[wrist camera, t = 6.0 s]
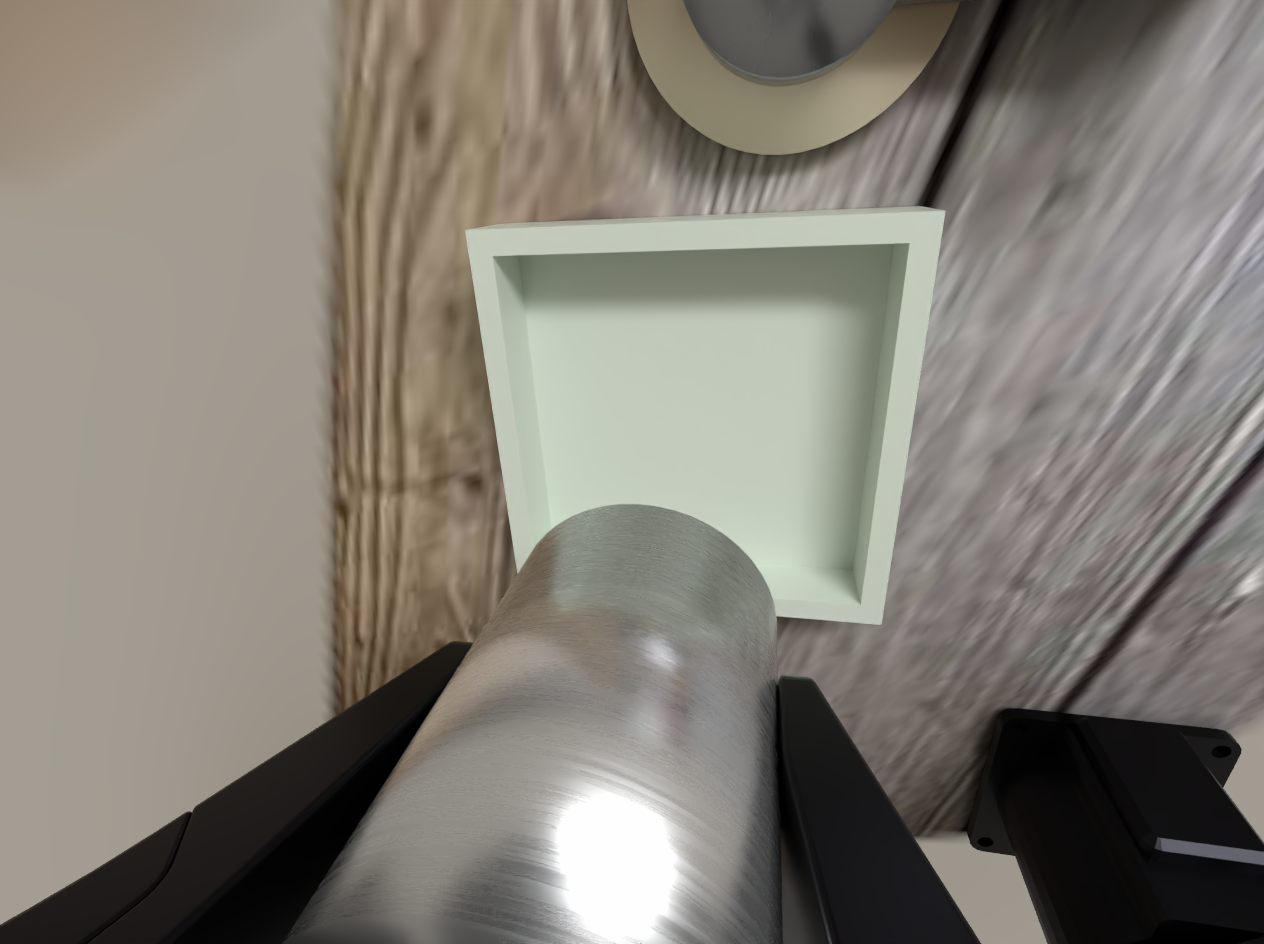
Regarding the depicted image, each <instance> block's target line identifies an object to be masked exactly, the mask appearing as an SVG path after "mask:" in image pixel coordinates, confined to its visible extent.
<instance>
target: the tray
mask: <svg viewBox="0 0 1264 944" xmlns="http://www.w3.org/2000/svg"><path fill="white" fill-rule="evenodd" d="M944 217H945V210H939V209H934V208H928V207H923V206H909V207H885V208H862V209H838V210H814V211H791V212H767V213H743V214H720V215H696V216H672V217H649V218H625V219H601V220H578V221H554V222H530V223H507V224H498V225H492V226H486V227H480V228H475V229H469V230H465V232H466V239H467V245H468V252H469V258H470V265H471V272H472V278H473V285H474V291H475V298H476V304H477V311H478V318H479V324H480V331H481V337H482V344H483V350H484V357H485V364H486V370H487V377H488V383H489V390H490V397H491V403H492V410H493V416H494V423H495V429H496V436H497V443H498V449H499V456H500V462H501V469H502V475H503V482H504V489H505V495H506V502H507V508H508V515H509V521H510V528H511V535H512V541H513V548H514V554H515V561H516V567H517V574H518V573H519V571H520V569H521V568H522V566H523V565H524V563H525V562H526V560H527V558H528V557H529V555H530V554H531V552H532V551H533V549H534V547H535V546H536V544H537V543H538V542H539V541H540V540H541V539H542V538H543V537H544V536H545V534H547V533H548V532H549V531H550V530H551V529H553V528H554V527H555V526H556V525H558V524H559V523H561V522H563V521H564V520H566V519H568V518H570V517H572V516H574V515H576V514H579V513H581V512H584V511H586V510H590V509H594V508H598V507H602V506H609V505H617V504H642V505H651V506H658V507H662V508H667V509H671V510H675V511H678V512H681V513H684V514H686V515H689V516H692V517H694V518H696V519H698V520H700V521H702V522H705V523H707V524H709V525H710V526H712V527H714V528H715V529H717V530H718V531H720V532H721V533H723V534H724V535H726V536H727V537H728V538H729V539H731V540H732V541H733V542H734V543H736V544H737V545H738V546H739V547H740V548H741V549H742V550H743V551H744V552H745V553H746V554H747V555H748V556H749V557H750V559H751V560H752V561H753V562H754V564H755V565H756V567H757V568H758V569H759V571H760V572H761V574H762V576H763V577H764V579H765V581H766V583H767V585H768V587H769V590H770V592H771V595H772V598H773V601H774V605H775V611H776V616H781V617H793V618H805V619H817V620H829V621H841V622H853V623H865V624H877V625H881V624H882V617H883V611H884V605H885V598H886V592H887V585H888V579H889V572H890V566H891V559H892V553H893V546H894V540H895V534H896V527H897V521H898V514H899V508H900V501H901V495H902V488H903V482H904V475H905V469H906V463H907V456H908V450H909V443H910V437H911V430H912V424H913V417H914V411H915V405H916V398H917V392H918V385H919V379H920V372H921V366H922V359H923V353H924V346H925V340H926V334H927V327H928V321H929V314H930V308H931V301H932V295H933V288H934V282H935V276H936V269H937V263H938V256H939V250H940V243H941V237H942V230H943V224H944Z"/></svg>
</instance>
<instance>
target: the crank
mask: <svg viewBox="0 0 1264 944" xmlns="http://www.w3.org/2000/svg"><path fill="white" fill-rule="evenodd" d="M963 1H973V0H683V2H684V5H685V7H686V9H687V12H688V14H689V16H690V19H691V21H692V23H693V25H694V27H695V29H696V31H697V34H698V35H699V37H700V39H701V40H702V42H703V44H704V46H705V47H706V48H707V50H708V51H709V52H710V53H711V55H712V56H713V57H714V58H715V59H716V60H717V61H718V62H719V63H720V64H721V65H722V66H723V67H724V68H726V69H727V70H729V71H730V72H731V73H733V74H734V75H736V76H738V77H740V78H742V79H744V80H746V81H749V82H752V83H756V84H759V85H765V86H772V87H778V86H792V85H798V84H802V83H805V82H809V81H812V80H815V79H817V78H819V77H821V76H823V75H826V74H828V73H829V72H831V71H832V70H834V69H836V68H837V67H839V66H840V65H842V64H843V63H844V62H845V61H847V60H848V59H849V58H851V57H852V56H853V55H854V54H855V53H856V52H857V51H858V50H859V49H860V48H861V47H862V46H863V45H864V44H865V43H866V42H867V40H868V39H869V38H870V37H871V35H872V34H873V33H874V32H875V30H876V29H877V28H878V26H879V25H880V24H881V22H882V21H883V20H884V18H885V17H886V16H887V14H888V13H889V11H890V10H891V9H894V8H904V7H914V6H924V5H933V4H943V3H953V2H963Z"/></svg>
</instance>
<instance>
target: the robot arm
mask: <svg viewBox="0 0 1264 944" xmlns="http://www.w3.org/2000/svg"><path fill="white" fill-rule="evenodd" d="M472 645H473V643H471V642H461V641H453V642H450V643H449V644H447V645H445V646H444V647H442V648H441V649H439V650H437V651H436V652H434V653H433V654H431V655H430V656H428V657H427V658H425V659H423V660H422V661H420V662H419V663H417V664H416V665H414V666H413V667H411V668H410V669H408V670H406V671H405V672H403V673H402V674H400V675H399V676H397V677H396V678H394V679H392V680H391V681H389V682H388V683H386V684H385V685H383V686H382V687H380V688H378V689H377V690H375V691H374V692H372V693H371V694H369V695H368V696H366V697H364V698H363V699H361V700H360V701H358V702H357V703H355V704H354V705H352V706H351V707H349V708H347V709H346V710H344V711H343V712H341V713H340V714H338V715H337V716H335V717H333V718H332V719H330V720H329V721H327V722H326V723H324V724H323V725H321V726H319V727H318V728H316V729H315V730H313V731H312V732H310V733H309V734H307V735H306V736H304V737H302V738H301V739H299V740H298V741H296V742H295V743H293V744H292V745H290V746H288V747H287V748H285V749H284V750H282V751H281V752H279V753H278V754H276V755H275V756H273V757H271V758H270V759H268V760H267V761H265V762H264V763H262V764H261V765H259V766H257V767H256V768H254V769H253V770H251V771H250V772H248V773H247V774H245V775H243V776H242V777H240V778H239V779H237V780H236V781H234V782H233V783H231V784H230V785H228V786H226V787H225V788H223V789H222V790H220V791H219V792H217V793H215V794H214V795H212V796H211V797H209V798H208V799H206V800H205V801H203V802H201V803H200V804H198V805H197V806H196V807H195V808H194V810H193V812H186V813H184V814H183V815H181V816H180V817H178V818H176V819H175V820H173V821H172V822H170V823H169V824H167V825H165V826H164V827H162V828H161V829H159V830H158V831H156V832H155V833H153V834H152V835H150V836H148V837H147V838H145V839H143V840H142V841H140V842H139V843H137V844H135V845H134V846H132V847H131V848H129V849H127V850H126V851H124V852H123V853H121V854H119V855H118V856H116V857H115V858H113V859H111V860H110V861H108V862H107V863H105V864H103V865H102V866H100V867H99V868H97V869H95V870H94V871H92V872H90V873H89V874H87V875H85V876H83V877H82V878H80V879H78V880H77V881H75V882H73V883H72V884H70V885H69V886H66V887H65V888H63V889H61V890H60V891H58V892H56V893H54V894H53V895H51V896H49V897H48V898H46V899H44V900H43V901H41V902H39V903H38V904H36V905H34V906H32V907H31V908H29V909H27V910H25V911H24V912H22V913H20V914H19V915H17V916H15V917H13V918H11V919H10V920H8V921H6V922H4V923H3V924H1V925H0V944H282V943H283V942H284V940H285V939H286V937H287V936H288V934H289V932H290V931H291V929H292V928H293V926H294V925H295V923H296V921H297V920H298V918H299V917H300V915H301V914H302V912H303V910H304V909H305V907H306V906H307V904H308V903H309V901H310V899H311V898H312V896H313V895H314V893H315V892H316V890H317V888H318V887H319V885H320V884H321V882H322V881H323V879H324V877H325V876H326V874H327V873H328V871H329V870H330V868H331V866H332V865H333V863H334V862H335V860H336V859H337V857H338V855H339V854H340V852H341V851H342V849H343V848H344V846H345V844H346V843H347V841H348V840H349V838H350V837H351V835H352V833H353V832H354V830H355V829H356V827H357V826H358V824H359V822H360V821H361V819H362V818H363V816H364V815H365V813H366V811H367V810H368V808H369V807H370V805H371V804H372V802H373V800H374V799H375V797H376V796H377V794H378V793H379V791H380V789H381V788H382V786H383V785H384V783H385V782H386V780H387V778H388V777H389V775H390V774H391V772H392V771H393V769H394V767H395V766H396V764H397V763H398V761H399V760H400V758H401V756H402V755H403V753H404V752H405V750H406V749H407V747H408V745H409V744H410V742H411V741H412V739H413V738H414V736H415V734H416V733H417V731H418V730H419V728H420V727H421V725H422V723H423V722H424V720H425V719H426V717H427V716H428V714H429V712H430V711H431V709H432V708H433V706H434V705H435V703H436V701H437V700H438V698H439V697H440V695H441V694H442V692H443V690H444V689H445V687H446V686H447V684H448V683H449V681H450V679H451V678H452V676H453V675H454V673H455V672H456V670H457V668H458V667H459V665H460V664H461V662H462V661H463V659H464V657H465V656H466V654H467V653H468V651H469V650H470V648H471V646H472ZM778 714H779V766H780V817H781V869H782V920H783V944H981V943H980V941H979V940H978V938H977V936H976V935H975V933H974V932H973V930H972V928H971V927H970V925H969V924H968V922H967V921H966V919H965V918H964V916H963V914H962V913H961V911H960V910H959V908H958V907H957V905H956V903H955V902H954V900H953V899H952V897H951V895H950V894H949V892H948V891H947V889H946V888H945V886H944V884H943V883H942V881H941V880H940V878H939V876H938V875H937V873H936V872H935V870H934V869H933V867H932V865H931V864H930V862H929V861H928V859H927V858H926V856H925V854H924V853H923V851H922V850H921V848H920V847H919V845H918V843H917V842H916V840H915V839H914V837H913V835H912V834H911V832H910V831H909V829H908V828H907V826H906V824H905V823H904V821H903V820H902V818H901V817H900V815H899V813H898V812H897V810H896V809H895V807H894V806H893V804H892V802H891V801H890V799H889V798H888V796H887V795H886V793H885V791H884V790H883V788H882V787H881V785H880V784H879V782H878V780H877V779H876V777H875V776H874V774H873V772H872V771H871V769H870V768H869V766H868V765H867V763H866V761H865V760H864V758H863V757H862V755H861V754H860V752H859V750H858V749H857V747H856V746H855V744H854V743H853V741H852V739H851V738H850V736H849V735H848V733H847V732H846V730H845V728H844V727H843V725H842V724H841V722H840V721H839V719H838V717H837V716H836V714H835V713H834V711H833V709H832V708H831V706H830V705H829V703H828V702H827V700H826V698H825V697H824V695H823V694H822V692H821V691H820V689H819V687H818V686H817V684H816V683H815V682H814V680H813V679H811V678H809V677H801V676H791V675H782V676H781V677H780V678H779V681H778ZM1016 724H1020V725H1018V726H1014V725H1016ZM1240 754H1241V747H1240V745H1239V744H1238V743H1237V742H1236V740H1235V739H1234V738H1233V737H1232V736H1231V734H1229V733H1228V732H1226V731H1224V730H1219V729H1211V728H1202V727H1192V726H1182V725H1173V724H1163V723H1153V722H1144V721H1134V720H1124V719H1115V718H1105V717H1095V716H1086V715H1076V714H1066V713H1057V712H1047V711H1037V710H1028V709H1009V710H1006V711H1004V712H1003V713H1001V714H1000V716H999V717H998V720H997V724H996V727H995V731H994V734H993V738H992V742H991V745H990V749H989V752H988V756H987V759H986V763H985V767H984V770H983V774H982V777H981V781H980V785H979V788H978V792H977V795H976V799H975V803H974V806H973V810H972V813H971V817H970V821H969V824H968V828H967V834H968V837H969V840H970V844H971V845H972V846H973V847H974V848H975V849H977V850H981V851H985V852H992V853H1000V854H1006V855H1013V856H1016V859H1017V862H1018V865H1019V867H1020V870H1021V873H1022V875H1023V878H1024V881H1025V884H1026V886H1027V889H1028V892H1029V894H1030V897H1031V900H1032V902H1033V905H1034V908H1035V911H1036V914H1037V916H1038V919H1039V922H1040V924H1041V927H1042V930H1043V932H1044V935H1045V938H1046V941H1047V943H1048V944H1264V842H1263V841H1262V840H1261V838H1260V837H1259V836H1258V834H1257V833H1256V832H1255V830H1254V829H1253V827H1252V826H1251V825H1250V824H1249V822H1248V821H1247V820H1246V818H1245V817H1244V815H1243V814H1242V813H1241V812H1240V810H1239V809H1238V808H1237V806H1236V805H1235V803H1234V802H1233V801H1232V799H1231V798H1230V797H1229V795H1228V794H1227V793H1226V791H1225V790H1224V789H1223V787H1224V785H1225V783H1226V781H1227V779H1228V777H1229V775H1230V773H1231V772H1232V770H1233V768H1234V766H1235V764H1236V762H1237V760H1238V758H1239V756H1240Z"/></svg>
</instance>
